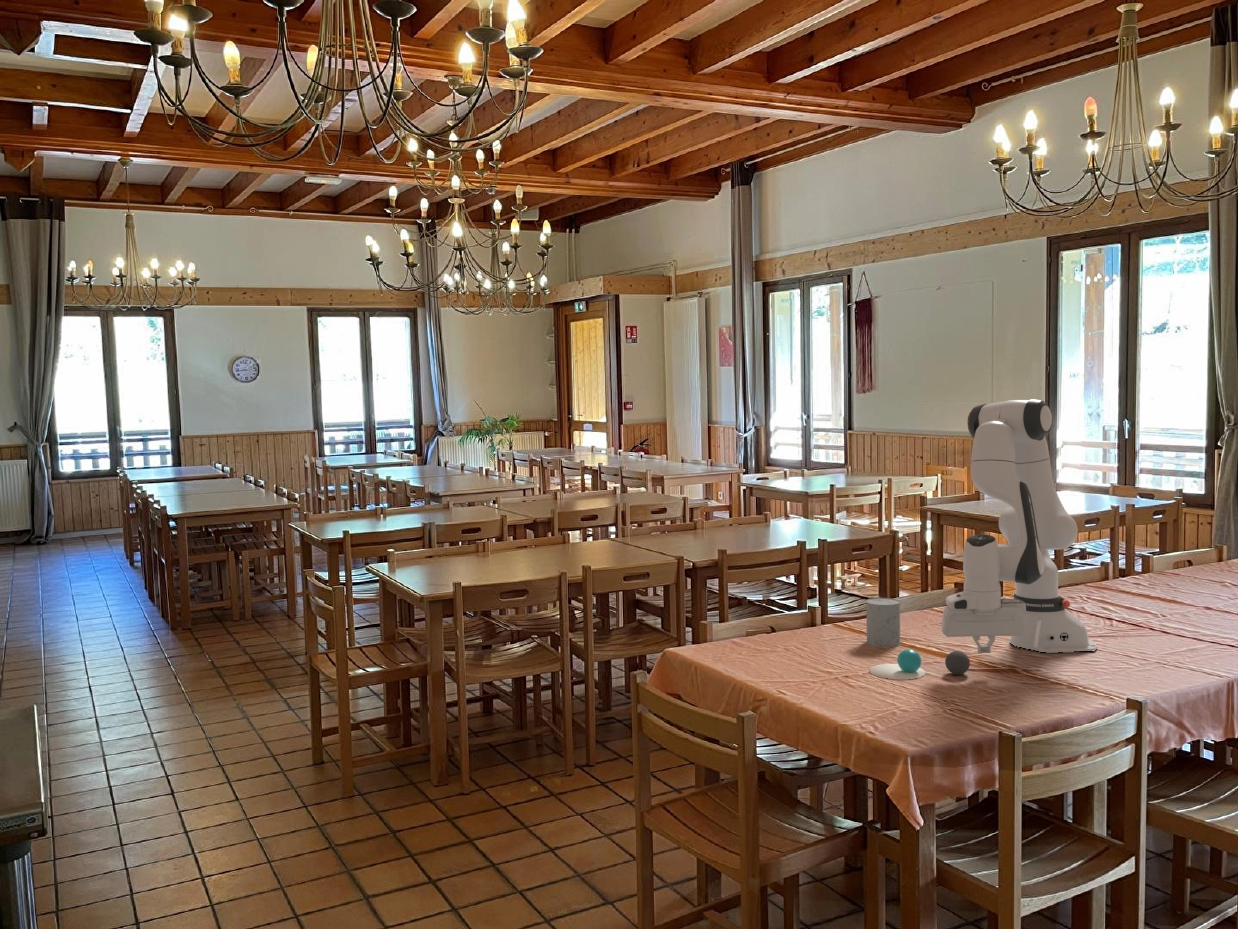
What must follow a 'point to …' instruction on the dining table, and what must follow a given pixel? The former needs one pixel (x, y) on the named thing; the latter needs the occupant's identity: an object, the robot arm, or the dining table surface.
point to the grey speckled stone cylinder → (883, 622)
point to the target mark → (895, 672)
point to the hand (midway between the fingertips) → (984, 652)
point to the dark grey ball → (957, 662)
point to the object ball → (909, 660)
